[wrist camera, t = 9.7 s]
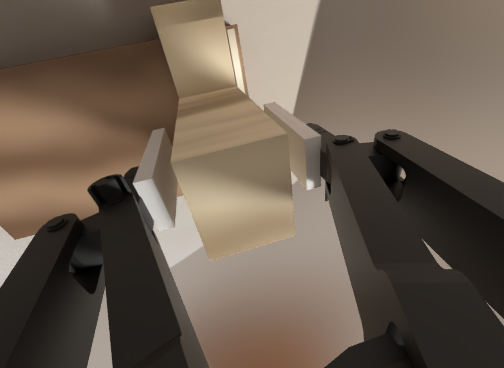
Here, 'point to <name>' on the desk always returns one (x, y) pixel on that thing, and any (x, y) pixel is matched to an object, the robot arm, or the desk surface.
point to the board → (82, 126)
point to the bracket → (222, 137)
